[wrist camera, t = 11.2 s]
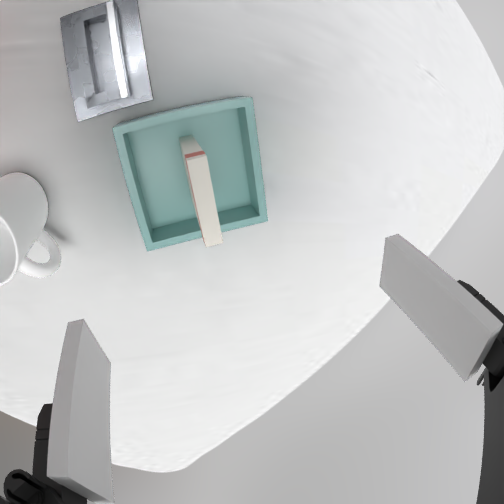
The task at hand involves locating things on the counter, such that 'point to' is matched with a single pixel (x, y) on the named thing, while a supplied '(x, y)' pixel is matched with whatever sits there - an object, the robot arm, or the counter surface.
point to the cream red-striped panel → (201, 190)
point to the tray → (174, 175)
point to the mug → (24, 228)
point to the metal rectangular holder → (105, 58)
